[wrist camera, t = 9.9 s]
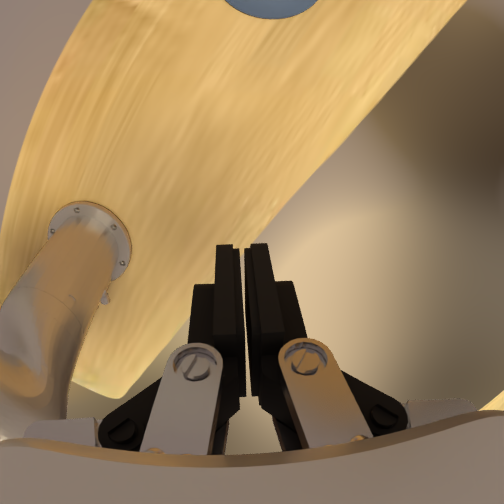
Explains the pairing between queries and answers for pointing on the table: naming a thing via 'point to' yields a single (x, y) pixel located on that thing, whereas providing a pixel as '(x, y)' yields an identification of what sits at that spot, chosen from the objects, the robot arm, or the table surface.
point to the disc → (271, 7)
